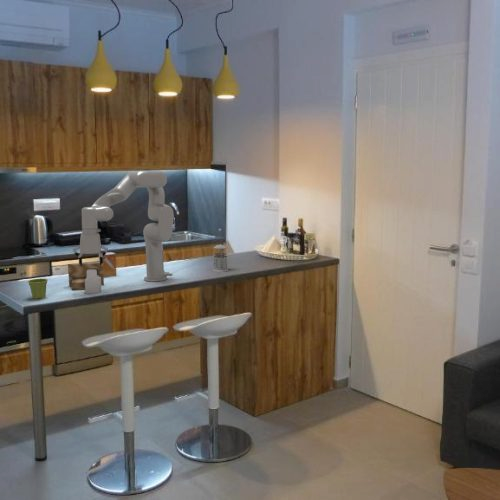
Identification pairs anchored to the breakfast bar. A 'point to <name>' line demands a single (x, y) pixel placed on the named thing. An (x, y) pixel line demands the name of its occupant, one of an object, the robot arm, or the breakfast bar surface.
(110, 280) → the breakfast bar surface
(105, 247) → the robot arm
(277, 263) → the breakfast bar surface
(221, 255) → the french press
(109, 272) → the small box
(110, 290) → the breakfast bar surface
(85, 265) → the wooden crate
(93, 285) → the medicine bottle
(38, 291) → the plant pot
